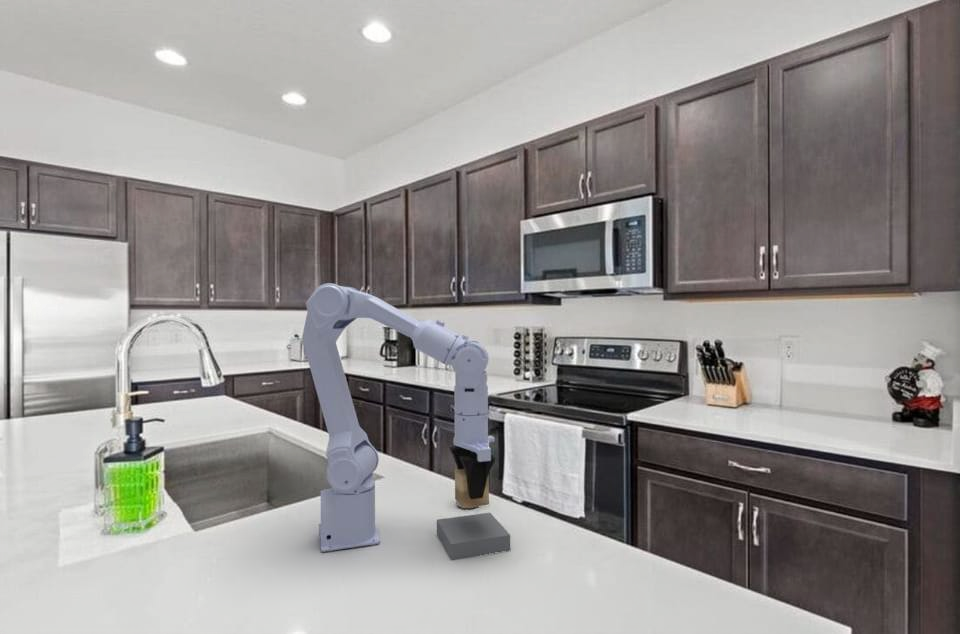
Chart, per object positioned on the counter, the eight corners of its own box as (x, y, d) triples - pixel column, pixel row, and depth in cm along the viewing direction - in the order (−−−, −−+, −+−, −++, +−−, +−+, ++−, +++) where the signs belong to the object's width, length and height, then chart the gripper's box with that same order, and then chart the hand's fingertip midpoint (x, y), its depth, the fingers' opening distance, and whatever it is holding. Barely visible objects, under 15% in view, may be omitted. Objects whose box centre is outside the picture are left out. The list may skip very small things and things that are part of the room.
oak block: (462, 508, 80) (462, 477, 80) (455, 498, 85) (454, 469, 85) (489, 504, 82) (488, 474, 82) (480, 495, 86) (480, 466, 86)
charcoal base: (451, 563, 77) (451, 544, 77) (436, 536, 86) (436, 519, 86) (510, 553, 80) (510, 535, 80) (490, 528, 90) (490, 512, 90)
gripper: (508, 419, 78) (509, 504, 78) (480, 404, 92) (480, 477, 91) (465, 422, 76) (466, 510, 75) (443, 406, 89) (444, 481, 89)
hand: (471, 492), depth 83 cm, fingers closed on oak block, 5 cm apart
